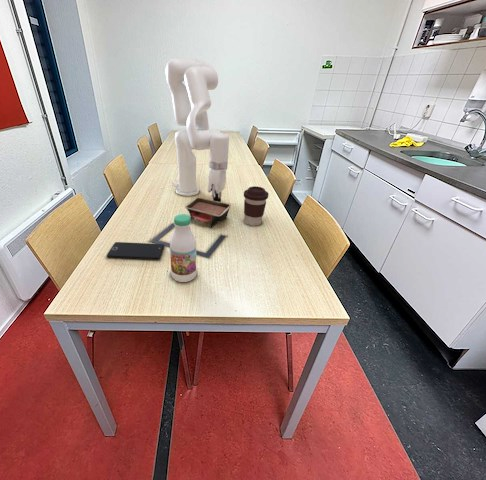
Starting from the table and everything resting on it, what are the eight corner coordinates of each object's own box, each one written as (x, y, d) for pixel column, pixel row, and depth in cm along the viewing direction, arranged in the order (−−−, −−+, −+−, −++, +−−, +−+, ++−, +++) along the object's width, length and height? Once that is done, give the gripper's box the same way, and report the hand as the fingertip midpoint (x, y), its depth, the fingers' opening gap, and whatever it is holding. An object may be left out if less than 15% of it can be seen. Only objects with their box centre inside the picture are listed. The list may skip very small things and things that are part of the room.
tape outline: (150, 241, 101) (150, 241, 101) (172, 223, 114) (172, 223, 114) (208, 257, 93) (208, 257, 93) (225, 236, 106) (225, 236, 105)
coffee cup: (265, 219, 119) (270, 186, 111) (262, 229, 111) (267, 195, 103) (243, 215, 122) (247, 183, 114) (238, 225, 114) (241, 191, 106)
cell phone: (115, 244, 99) (115, 241, 98) (164, 246, 98) (164, 243, 98) (106, 257, 91) (106, 255, 90) (159, 260, 90) (159, 257, 90)
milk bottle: (171, 267, 87) (168, 211, 77) (195, 267, 88) (195, 211, 78) (171, 283, 81) (167, 223, 70) (196, 282, 81) (197, 223, 71)
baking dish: (214, 236, 109) (219, 214, 104) (179, 219, 116) (182, 197, 111) (230, 225, 120) (236, 205, 115) (197, 210, 127) (201, 190, 122)
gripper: (216, 159, 120) (215, 198, 129) (202, 168, 108) (202, 210, 117) (232, 162, 117) (230, 201, 127) (220, 171, 106) (218, 213, 115)
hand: (216, 205), depth 122 cm, fingers closed
